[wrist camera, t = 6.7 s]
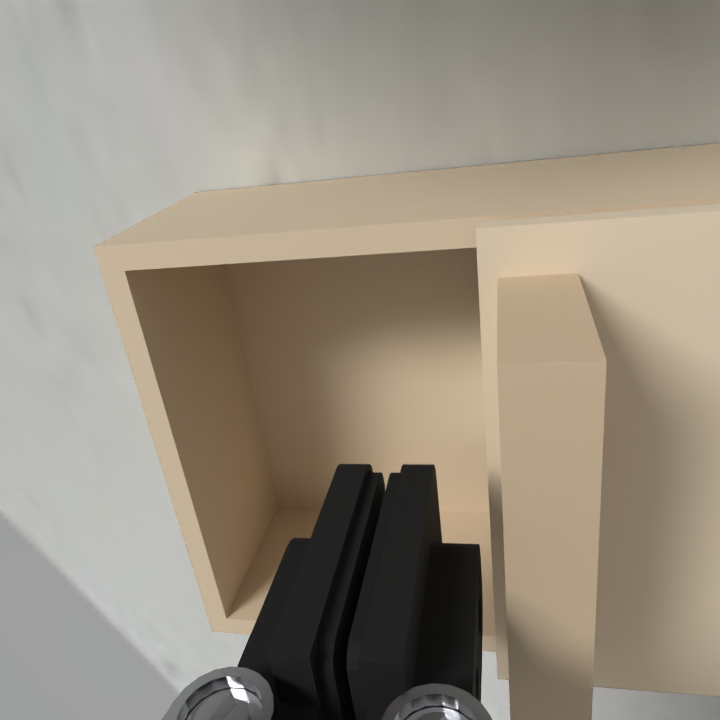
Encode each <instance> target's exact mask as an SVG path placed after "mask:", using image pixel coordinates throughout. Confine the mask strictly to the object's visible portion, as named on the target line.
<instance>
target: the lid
mask: <svg viewBox="0 0 720 720" xmlns="http://www.w3.org/2000/svg"><path fill="white" fill-rule="evenodd" d="M476 247H477V268H478V288H479V308H480V329H481V349H482V369H483V390H484V410H485V430H486V451H487V471H488V491H489V512H490V532H491V553H492V573H493V593H494V614H495V634H496V654H497V675H498V679H505V680H509V692H510V718H511V720H591V716H592V693H593V687H605V688H617V689H630V690H642V691H655V692H667V693H680V694H692V695H705V696H717V697H720V204H709V205H696V206H683V207H669V208H656V209H643V210H629V211H616V212H603V213H590V214H576V215H563V216H550V217H537V218H523V219H510V220H497V221H484V222H476Z"/></svg>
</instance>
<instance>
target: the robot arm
mask: <svg viewBox="0 0 720 720" xmlns="http://www.w3.org/2000/svg"><path fill="white" fill-rule="evenodd" d="M482 636H483V595H482V571H481V555H480V545H479V544H461V543H442V533H441V522H440V511H439V500H438V489H437V478H436V469H435V465H434V464H403V465H402V467H401V471H400V473H390V475H389V479H388V483H387V487H386V491H385V483H384V477H383V474H382V473H381V472H373V469H372V466H371V465H370V464H339V465H338V466H337V468H336V471H335V473H334V476H333V479H332V482H331V484H330V487H329V490H328V492H327V495H326V498H325V500H324V503H323V506H322V508H321V511H320V514H319V516H318V519H317V522H316V524H315V527H314V530H313V532H312V535H311V538H293V539H292V540H291V541H290V542H289V544H288V546H287V547H286V550H285V552H284V555H283V557H282V560H281V562H280V564H279V567H278V569H277V572H276V574H275V577H274V579H273V581H272V584H271V586H270V589H269V591H268V594H267V596H266V598H265V601H264V603H263V606H262V608H261V610H260V613H259V615H258V618H257V620H256V623H255V625H254V627H253V630H252V632H251V635H250V637H249V640H248V642H247V644H246V647H245V649H244V652H243V654H242V657H241V659H240V661H239V664H238V666H237V667H226V668H221V669H216V670H213V671H211V672H209V673H207V674H205V675H203V676H200V677H199V678H197V679H196V680H195V681H193V682H192V683H191V684H190V685H188V686H187V687H186V688H185V689H184V690H183V691H182V692H181V693H180V695H179V696H178V697H177V698H176V699H175V701H174V702H173V703H172V705H171V707H170V708H169V710H168V711H167V713H166V714H165V716H164V718H163V719H162V720H492V718H491V716H490V714H489V713H488V712H487V710H486V709H485V708H484V706H483V705H482V703H481V673H482Z"/></svg>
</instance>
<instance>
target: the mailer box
mask: <svg viewBox="0 0 720 720" xmlns="http://www.w3.org/2000/svg"><path fill="white" fill-rule="evenodd" d="M709 204H720V143H712V144H702V145H691V146H681V147H670V148H659V149H649V150H638V151H628V152H617V153H607V154H596V155H585V156H575V157H564V158H554V159H543V160H533V161H522V162H511V163H501V164H490V165H480V166H469V167H459V168H448V169H437V170H427V171H416V172H406V173H395V174H385V175H374V176H363V177H353V178H342V179H332V180H321V181H311V182H300V183H289V184H279V185H268V186H258V187H247V188H237V189H226V190H215V191H205V192H196V193H194V194H192V195H190V196H189V197H187V198H185V199H183V200H181V201H179V202H177V203H175V204H173V205H171V206H170V207H168V208H166V209H164V210H162V211H160V212H158V213H156V214H154V215H152V216H151V217H149V218H147V219H145V220H143V221H141V222H139V223H137V224H135V225H134V226H132V227H130V228H128V229H126V230H124V231H122V232H120V233H118V234H116V235H115V236H113V237H111V238H109V239H107V240H105V241H103V242H101V243H99V244H97V245H96V246H94V247H93V248H94V252H95V255H96V258H97V261H98V265H99V268H100V271H101V274H102V278H103V281H104V284H105V287H106V290H107V294H108V297H109V300H110V303H111V307H112V310H113V313H114V316H115V319H116V323H117V326H118V329H119V332H120V336H121V339H122V342H123V345H124V349H125V352H126V355H127V358H128V361H129V365H130V368H131V371H132V374H133V378H134V381H135V384H136V387H137V391H138V394H139V397H140V400H141V403H142V407H143V410H144V413H145V416H146V420H147V423H148V426H149V429H150V433H151V436H152V439H153V442H154V445H155V449H156V452H157V455H158V458H159V462H160V465H161V468H162V471H163V475H164V478H165V481H166V484H167V487H168V491H169V494H170V497H171V500H172V504H173V507H174V510H175V513H176V516H177V520H178V523H179V526H180V529H181V533H182V536H183V539H184V542H185V546H186V549H187V552H188V555H189V558H190V562H191V565H192V568H193V571H194V575H195V578H196V581H197V584H198V588H199V591H200V594H201V597H202V600H203V604H204V607H205V610H206V613H207V617H208V620H209V623H210V626H211V630H212V632H222V633H236V634H250V635H251V632H252V630H253V627H254V625H255V623H256V620H257V618H258V615H259V613H260V610H261V608H262V606H263V603H264V601H265V598H266V596H267V594H268V591H269V589H270V586H271V584H272V581H273V579H274V577H275V574H276V572H277V569H278V567H279V564H280V562H281V560H282V557H283V555H284V552H285V550H286V547H287V546H288V544H289V542H290V541H291V540H292V539H293V538H311V535H312V532H313V530H314V527H315V524H316V522H317V519H318V516H319V514H320V511H321V508H322V506H323V503H324V500H325V498H326V495H327V492H328V490H329V487H330V484H331V482H332V479H333V476H334V473H335V471H336V468H337V466H338V465H339V464H370V465H371V466H372V469H373V472H381V473H382V474H383V477H384V483H385V491H386V487H387V483H388V479H389V475H390V473H400V471H401V467H402V465H403V464H434V465H435V469H436V478H437V489H438V500H439V511H440V522H441V533H442V543H461V544H479V545H480V555H481V571H482V595H483V636H482V651H490V652H496V634H495V614H494V593H493V573H492V553H491V532H490V512H489V491H488V471H487V451H486V430H485V410H484V390H483V369H482V349H481V329H480V308H479V288H478V268H477V247H476V222H484V221H497V220H510V219H523V218H537V217H550V216H563V215H576V214H590V213H603V212H616V211H629V210H643V209H656V208H669V207H683V206H696V205H709Z"/></svg>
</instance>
